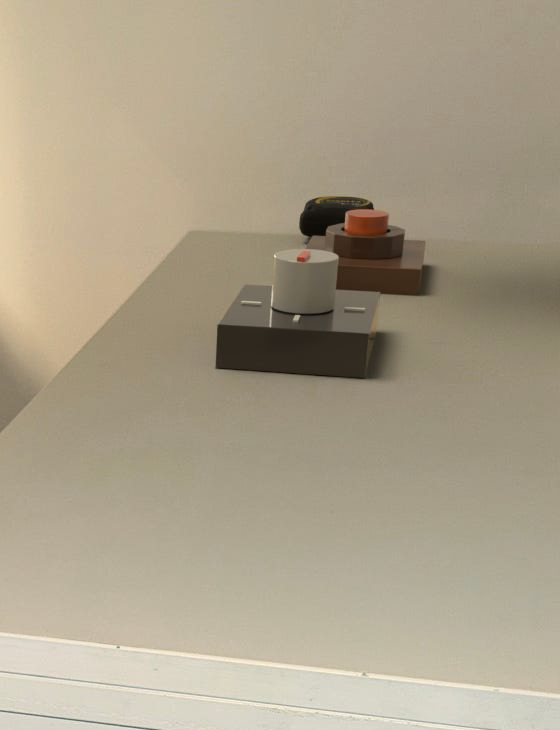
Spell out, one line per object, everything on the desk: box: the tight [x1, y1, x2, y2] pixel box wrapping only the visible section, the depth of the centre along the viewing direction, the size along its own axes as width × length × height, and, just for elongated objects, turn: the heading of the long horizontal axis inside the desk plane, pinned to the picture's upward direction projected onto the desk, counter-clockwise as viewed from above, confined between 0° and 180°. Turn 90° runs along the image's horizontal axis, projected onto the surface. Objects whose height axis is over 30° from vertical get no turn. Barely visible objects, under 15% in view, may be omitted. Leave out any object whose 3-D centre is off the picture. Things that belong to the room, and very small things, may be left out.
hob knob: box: [271, 248, 339, 314], centre depth 90 cm, size 4×4×4 cm
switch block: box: [304, 223, 427, 297], centre depth 112 cm, size 12×10×4 cm
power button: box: [344, 209, 390, 235], centre depth 111 cm, size 4×4×2 cm
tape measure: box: [298, 195, 375, 238], centre depth 126 cm, size 7×7×4 cm
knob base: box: [215, 284, 381, 379], centre depth 92 cm, size 12×10×3 cm
